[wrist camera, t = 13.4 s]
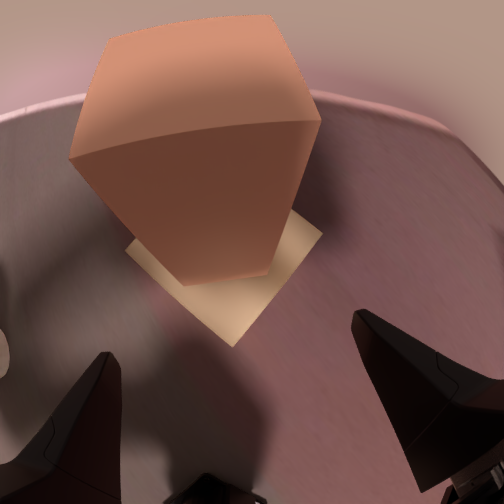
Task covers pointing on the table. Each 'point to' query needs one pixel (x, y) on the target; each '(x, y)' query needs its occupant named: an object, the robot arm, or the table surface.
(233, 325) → the birch block
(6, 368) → the white cup
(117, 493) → the robot arm
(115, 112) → the terracotta post
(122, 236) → the table surface
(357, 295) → the table surface
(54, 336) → the table surface
